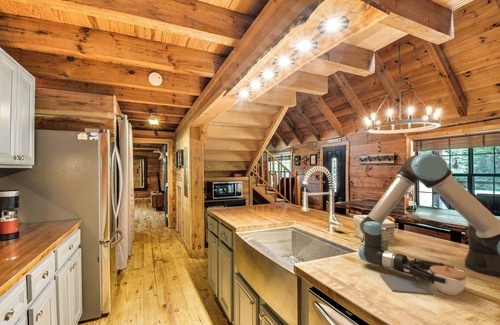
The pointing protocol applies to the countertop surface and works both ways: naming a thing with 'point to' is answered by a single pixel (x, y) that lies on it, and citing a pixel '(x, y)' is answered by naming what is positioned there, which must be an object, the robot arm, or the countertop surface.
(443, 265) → the walnut block
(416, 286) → the slate mat
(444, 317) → the countertop surface
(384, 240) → the food container
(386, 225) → the storage basket
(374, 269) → the countertop surface
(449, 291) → the lidded jar
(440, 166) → the robot arm
